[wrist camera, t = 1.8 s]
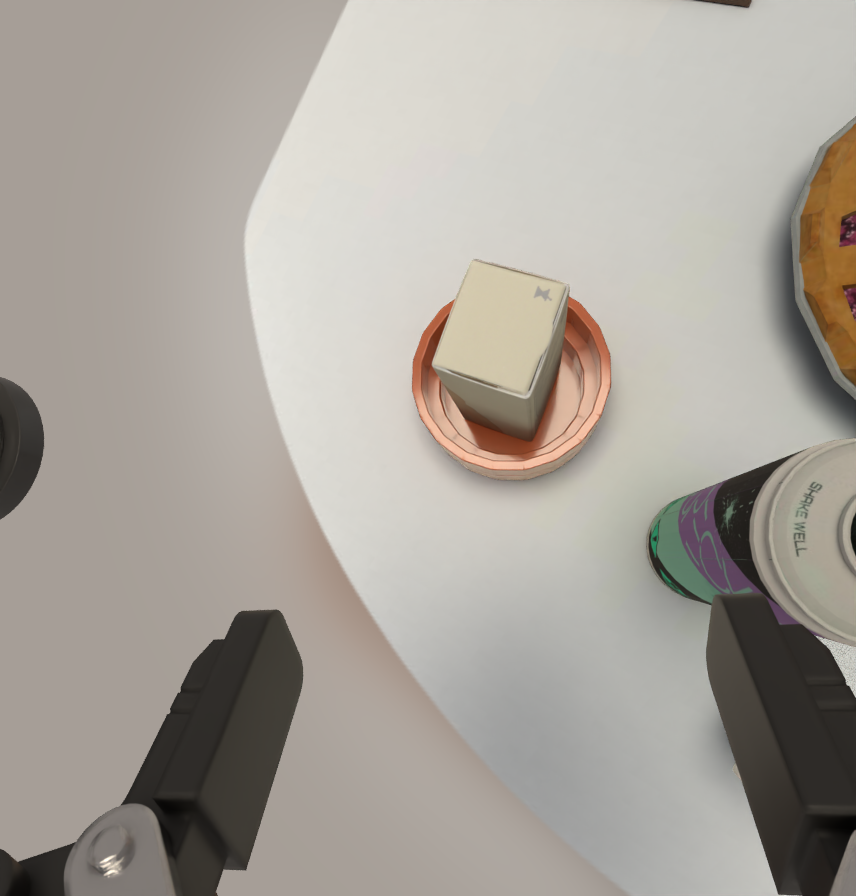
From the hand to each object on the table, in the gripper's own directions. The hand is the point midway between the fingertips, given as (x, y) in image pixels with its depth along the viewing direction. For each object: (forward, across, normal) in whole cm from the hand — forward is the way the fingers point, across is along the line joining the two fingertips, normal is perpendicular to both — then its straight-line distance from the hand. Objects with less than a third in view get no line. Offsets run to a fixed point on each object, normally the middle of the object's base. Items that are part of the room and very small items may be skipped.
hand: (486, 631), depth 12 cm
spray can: (+18, -9, +15) cm, 25 cm away
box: (+24, 0, +8) cm, 25 cm away
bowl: (+24, 0, +8) cm, 25 cm away
